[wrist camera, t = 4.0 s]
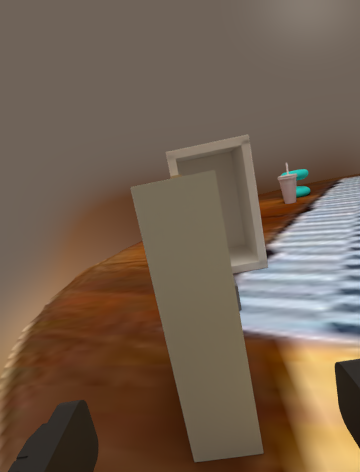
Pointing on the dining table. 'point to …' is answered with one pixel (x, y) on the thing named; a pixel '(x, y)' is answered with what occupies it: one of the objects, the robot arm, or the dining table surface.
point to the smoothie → (288, 186)
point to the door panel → (199, 313)
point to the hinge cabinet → (230, 196)
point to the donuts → (301, 174)
